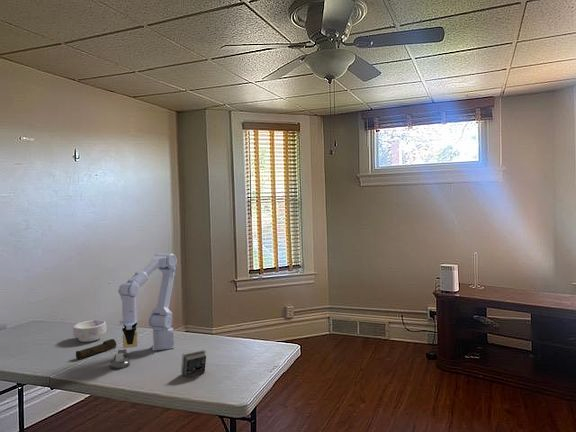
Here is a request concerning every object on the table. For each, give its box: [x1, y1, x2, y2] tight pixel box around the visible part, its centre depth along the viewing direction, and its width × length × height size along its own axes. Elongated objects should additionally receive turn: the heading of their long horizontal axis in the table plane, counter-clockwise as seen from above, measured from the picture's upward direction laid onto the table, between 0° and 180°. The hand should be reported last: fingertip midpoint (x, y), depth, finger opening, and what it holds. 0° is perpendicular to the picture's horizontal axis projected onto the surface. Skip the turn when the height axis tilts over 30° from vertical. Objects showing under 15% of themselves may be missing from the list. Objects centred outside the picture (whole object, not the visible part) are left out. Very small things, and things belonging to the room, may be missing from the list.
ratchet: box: [109, 348, 131, 371], centre depth 187 cm, size 20×8×5 cm, turn 17°
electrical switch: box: [180, 348, 207, 378], centre depth 170 cm, size 9×5×9 cm, turn 122°
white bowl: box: [72, 319, 107, 343], centre depth 219 cm, size 15×15×8 cm
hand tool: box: [75, 338, 117, 361], centre depth 197 cm, size 19×4×5 cm, turn 143°
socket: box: [122, 331, 139, 349], centre depth 185 cm, size 6×6×6 cm
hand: (130, 342), depth 185 cm, fingers closed on socket, 6 cm apart
